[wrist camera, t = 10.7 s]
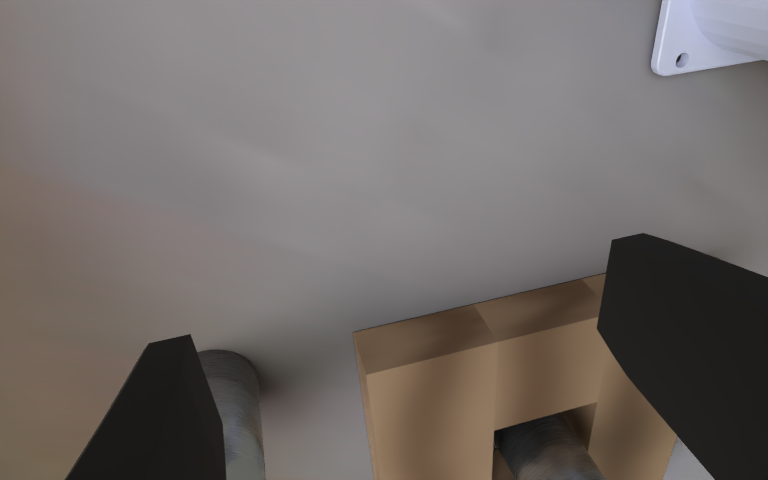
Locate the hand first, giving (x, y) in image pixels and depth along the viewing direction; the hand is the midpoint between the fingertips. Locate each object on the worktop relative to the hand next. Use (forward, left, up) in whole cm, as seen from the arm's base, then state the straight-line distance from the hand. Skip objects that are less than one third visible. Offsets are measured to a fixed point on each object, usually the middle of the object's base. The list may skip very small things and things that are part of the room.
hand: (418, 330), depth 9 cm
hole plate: (-8, +17, -10) cm, 21 cm away
